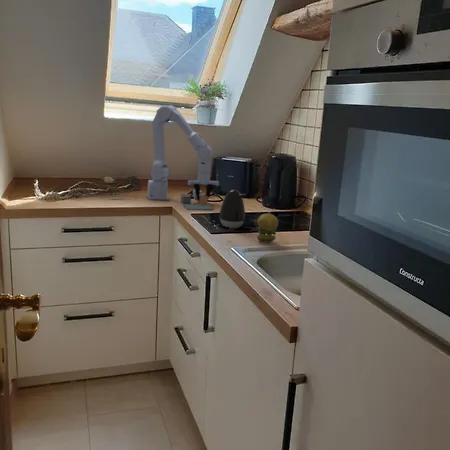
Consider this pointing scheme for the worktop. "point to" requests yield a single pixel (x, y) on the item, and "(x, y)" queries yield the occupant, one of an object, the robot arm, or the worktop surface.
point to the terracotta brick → (202, 199)
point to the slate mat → (197, 206)
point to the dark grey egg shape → (232, 210)
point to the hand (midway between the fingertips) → (202, 200)
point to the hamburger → (267, 227)
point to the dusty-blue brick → (195, 194)
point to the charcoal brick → (185, 199)
